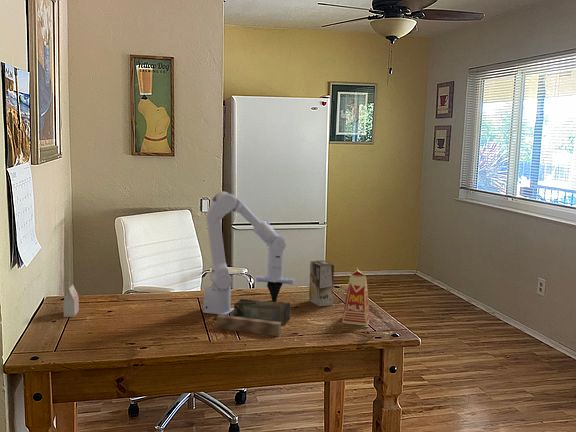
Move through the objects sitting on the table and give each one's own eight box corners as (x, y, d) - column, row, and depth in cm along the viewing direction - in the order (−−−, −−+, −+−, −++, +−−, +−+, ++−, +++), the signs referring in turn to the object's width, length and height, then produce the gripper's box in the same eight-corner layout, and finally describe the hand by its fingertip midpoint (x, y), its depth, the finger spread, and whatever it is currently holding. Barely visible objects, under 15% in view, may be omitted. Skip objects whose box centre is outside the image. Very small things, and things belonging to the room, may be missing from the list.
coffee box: (333, 305, 228) (335, 264, 226) (318, 306, 225) (320, 266, 223) (322, 298, 236) (323, 260, 234) (308, 300, 233) (309, 261, 231)
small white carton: (63, 317, 205) (62, 289, 203) (68, 311, 211) (67, 284, 210) (74, 316, 205) (73, 289, 204) (78, 311, 212) (78, 284, 210)
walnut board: (216, 328, 198) (216, 316, 197) (219, 325, 200) (219, 314, 199) (278, 336, 191) (278, 324, 191) (280, 333, 194) (281, 322, 193)
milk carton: (367, 325, 204) (370, 269, 202) (341, 323, 206) (343, 267, 203) (369, 317, 213) (372, 264, 211) (344, 315, 215) (346, 262, 212)
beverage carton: (240, 313, 215) (240, 296, 214) (291, 319, 210) (291, 301, 209) (233, 320, 207) (233, 302, 206) (285, 326, 202) (286, 307, 202)
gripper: (254, 267, 218) (253, 302, 220) (292, 270, 215) (291, 306, 217) (258, 263, 225) (257, 297, 227) (295, 266, 222) (294, 300, 224)
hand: (274, 301), depth 222 cm, fingers closed
